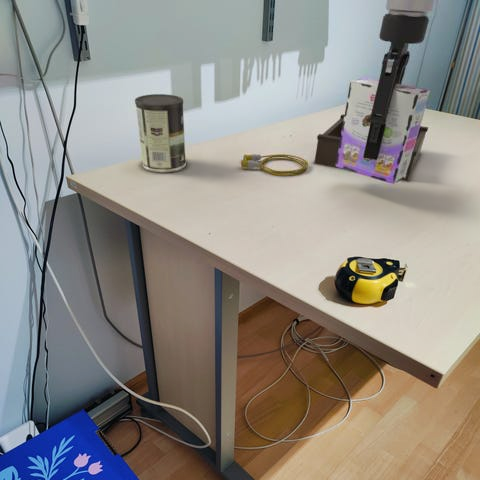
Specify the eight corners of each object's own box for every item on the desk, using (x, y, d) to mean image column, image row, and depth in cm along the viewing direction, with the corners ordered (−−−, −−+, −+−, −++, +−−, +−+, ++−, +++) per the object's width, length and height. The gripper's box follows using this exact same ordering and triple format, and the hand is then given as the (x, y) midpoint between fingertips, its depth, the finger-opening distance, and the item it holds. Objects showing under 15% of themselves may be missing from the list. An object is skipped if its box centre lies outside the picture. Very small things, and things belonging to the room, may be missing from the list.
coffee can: (179, 155, 105) (175, 92, 96) (191, 170, 98) (189, 103, 89) (137, 159, 102) (130, 94, 93) (147, 175, 94) (140, 106, 85)
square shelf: (420, 153, 113) (428, 127, 109) (408, 181, 97) (416, 152, 93) (337, 139, 120) (342, 114, 116) (313, 163, 104) (317, 135, 100)
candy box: (406, 178, 87) (432, 88, 76) (392, 185, 83) (418, 93, 73) (348, 160, 94) (365, 75, 83) (333, 166, 90) (349, 79, 80)
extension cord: (253, 153, 108) (253, 145, 107) (312, 163, 104) (314, 155, 103) (235, 168, 99) (235, 160, 98) (299, 180, 95) (300, 171, 94)
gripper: (394, 9, 79) (366, 136, 94) (372, 15, 65) (343, 164, 80) (436, 12, 77) (400, 142, 92) (423, 19, 63) (383, 171, 77)
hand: (374, 152), depth 86 cm, fingers closed on candy box, 7 cm apart
